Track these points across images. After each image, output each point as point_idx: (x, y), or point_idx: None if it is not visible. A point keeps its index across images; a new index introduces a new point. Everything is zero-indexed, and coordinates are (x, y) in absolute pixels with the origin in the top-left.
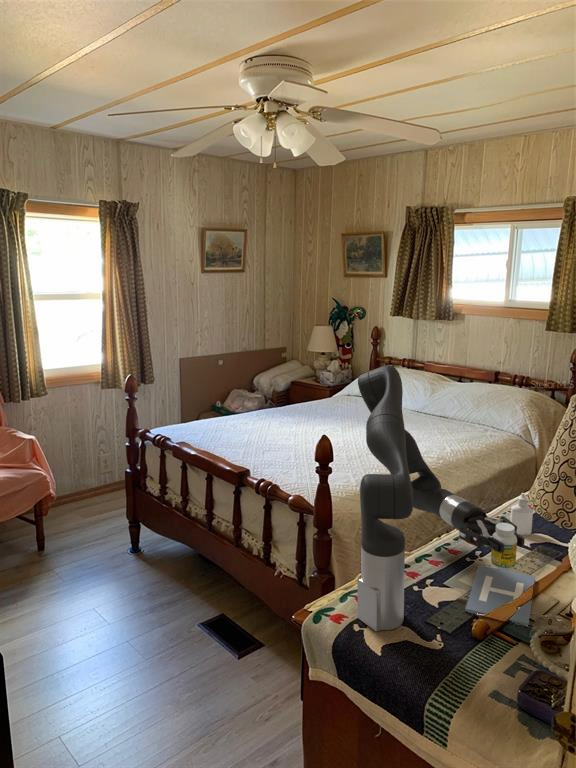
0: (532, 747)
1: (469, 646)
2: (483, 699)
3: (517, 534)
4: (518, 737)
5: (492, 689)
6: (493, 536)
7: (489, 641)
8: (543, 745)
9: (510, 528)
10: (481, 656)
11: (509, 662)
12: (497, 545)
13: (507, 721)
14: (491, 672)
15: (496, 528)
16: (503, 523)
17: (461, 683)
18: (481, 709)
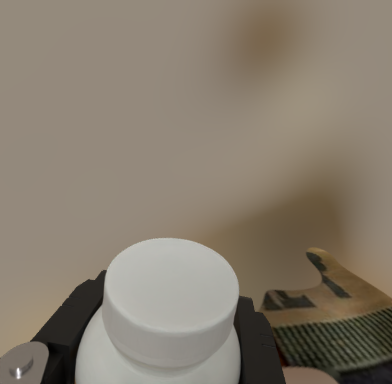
0: (324, 253)
1: (359, 377)
2: (359, 296)
3: (82, 300)
4: (333, 261)
5: (342, 299)
6: (233, 381)
7: (309, 362)
8: (314, 250)
9: (169, 248)
10: (340, 344)
11: (296, 311)
12: (262, 317)
13: (338, 272)
14: (333, 315)
15: (234, 311)
16: (137, 298)
17: (388, 326)
18: (365, 291)
